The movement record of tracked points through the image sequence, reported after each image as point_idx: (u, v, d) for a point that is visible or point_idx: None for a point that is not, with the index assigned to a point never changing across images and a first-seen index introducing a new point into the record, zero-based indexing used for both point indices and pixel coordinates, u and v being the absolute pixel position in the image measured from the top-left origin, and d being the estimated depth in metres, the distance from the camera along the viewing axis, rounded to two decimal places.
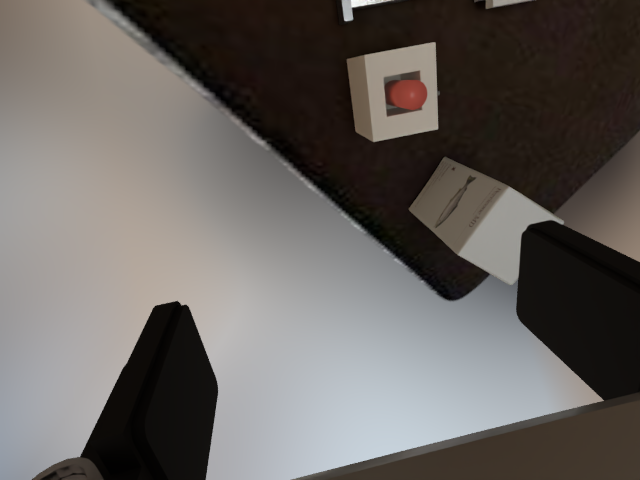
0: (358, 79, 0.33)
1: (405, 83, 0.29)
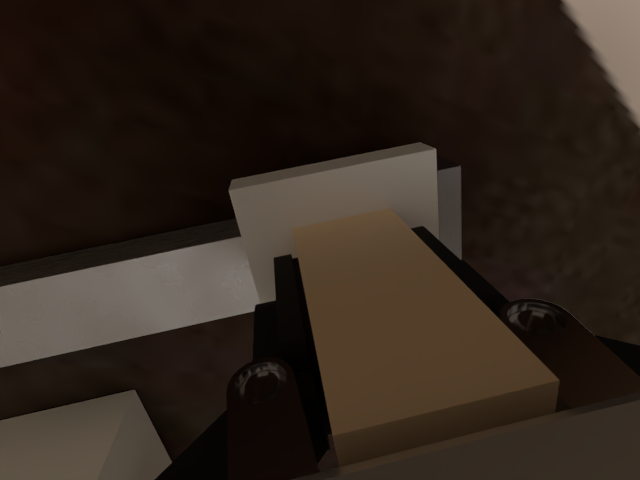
0: None
1: None
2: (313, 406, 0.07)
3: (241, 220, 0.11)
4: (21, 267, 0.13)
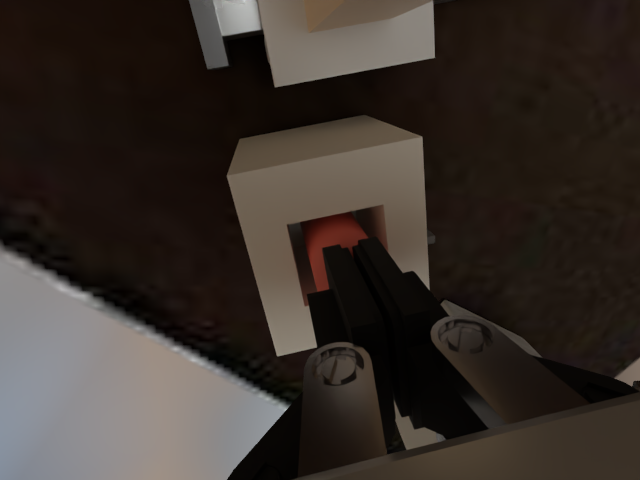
0: None
1: None
2: (386, 390, 0.07)
3: None
4: None
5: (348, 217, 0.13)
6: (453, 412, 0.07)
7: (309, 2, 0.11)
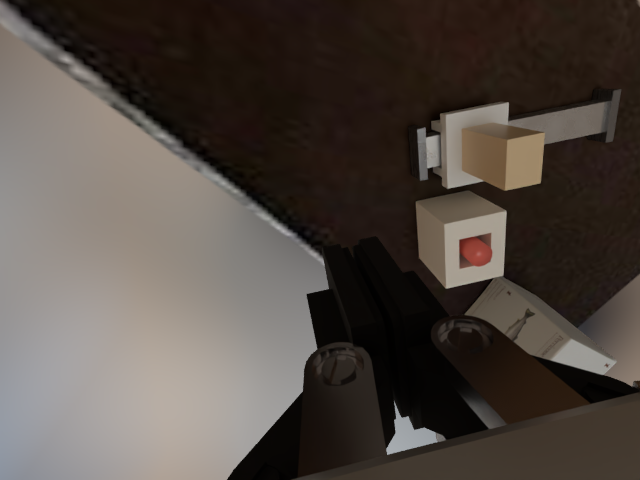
0: (431, 230, 0.37)
1: (474, 246, 0.34)
2: (386, 390, 0.07)
3: (447, 125, 0.34)
4: None
5: None
6: (453, 411, 0.07)
7: (468, 166, 0.34)
